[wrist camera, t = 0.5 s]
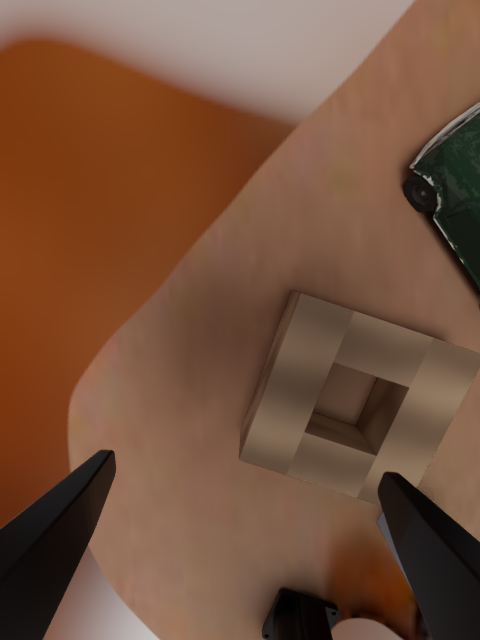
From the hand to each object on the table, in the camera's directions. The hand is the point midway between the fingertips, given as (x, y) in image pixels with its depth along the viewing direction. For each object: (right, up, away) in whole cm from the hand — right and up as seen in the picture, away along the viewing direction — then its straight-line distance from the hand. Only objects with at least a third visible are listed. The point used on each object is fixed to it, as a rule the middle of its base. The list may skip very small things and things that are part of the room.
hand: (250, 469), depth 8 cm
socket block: (+9, -1, +15) cm, 17 cm away
